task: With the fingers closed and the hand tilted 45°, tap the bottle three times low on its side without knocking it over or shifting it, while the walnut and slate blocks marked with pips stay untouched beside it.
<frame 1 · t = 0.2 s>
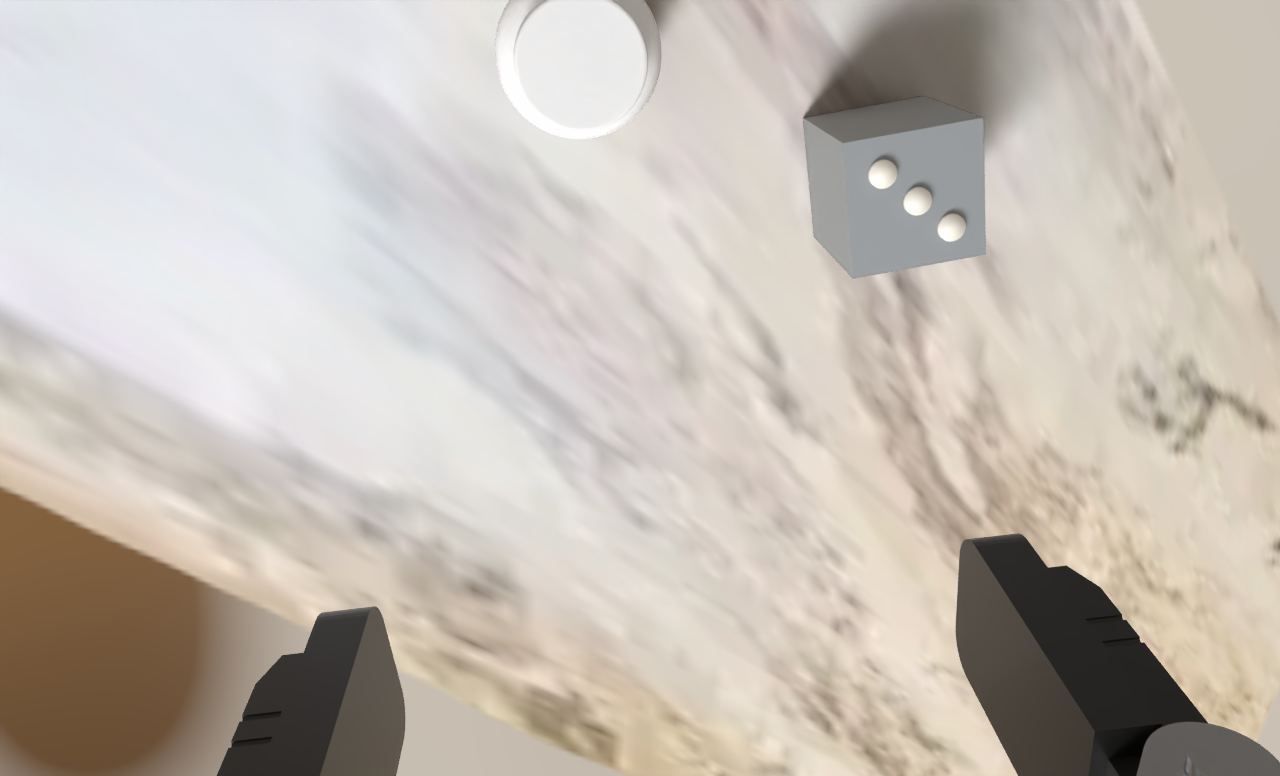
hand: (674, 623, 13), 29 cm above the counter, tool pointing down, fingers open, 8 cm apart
supplement bottle: (574, 38, 38), on the counter
slate three pip block: (867, 167, 40), on the counter
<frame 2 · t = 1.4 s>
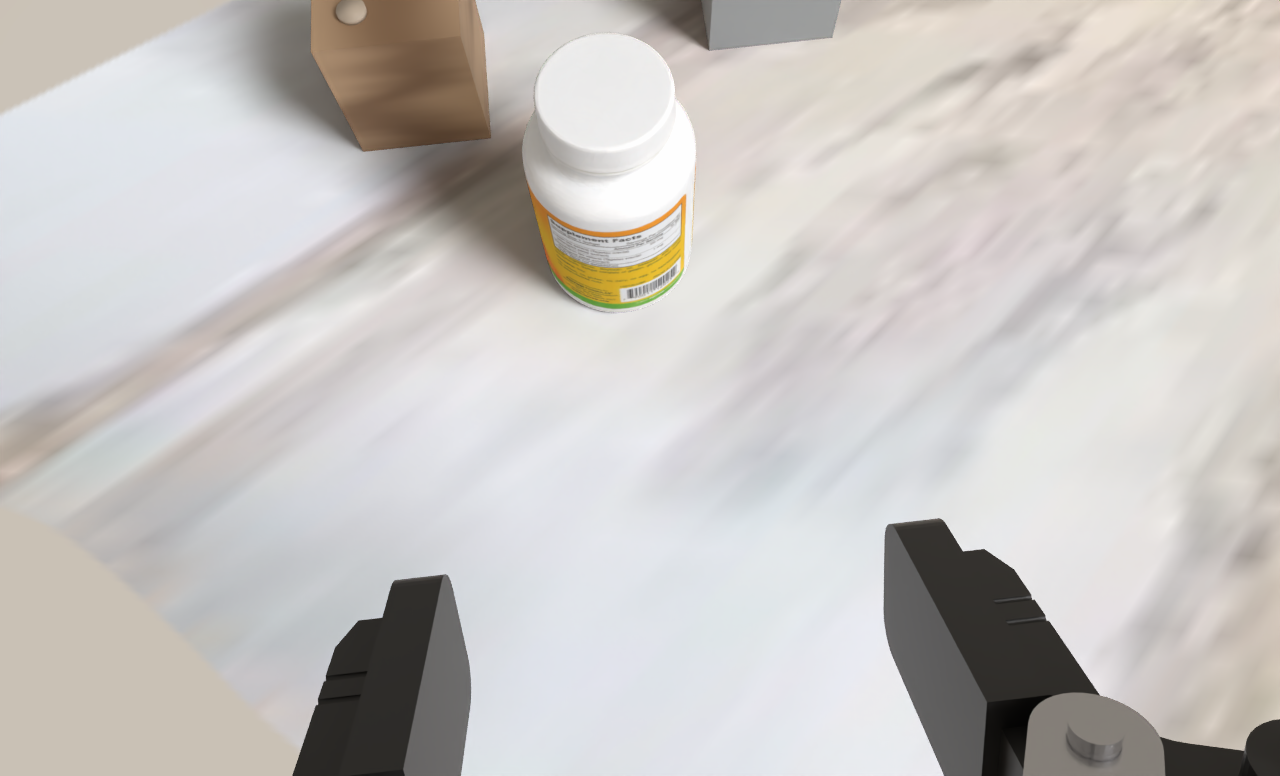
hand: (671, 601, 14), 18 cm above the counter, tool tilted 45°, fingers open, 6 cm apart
supplement bottle: (619, 253, 36), on the counter
walnut two pip block: (425, 92, 39), on the counter
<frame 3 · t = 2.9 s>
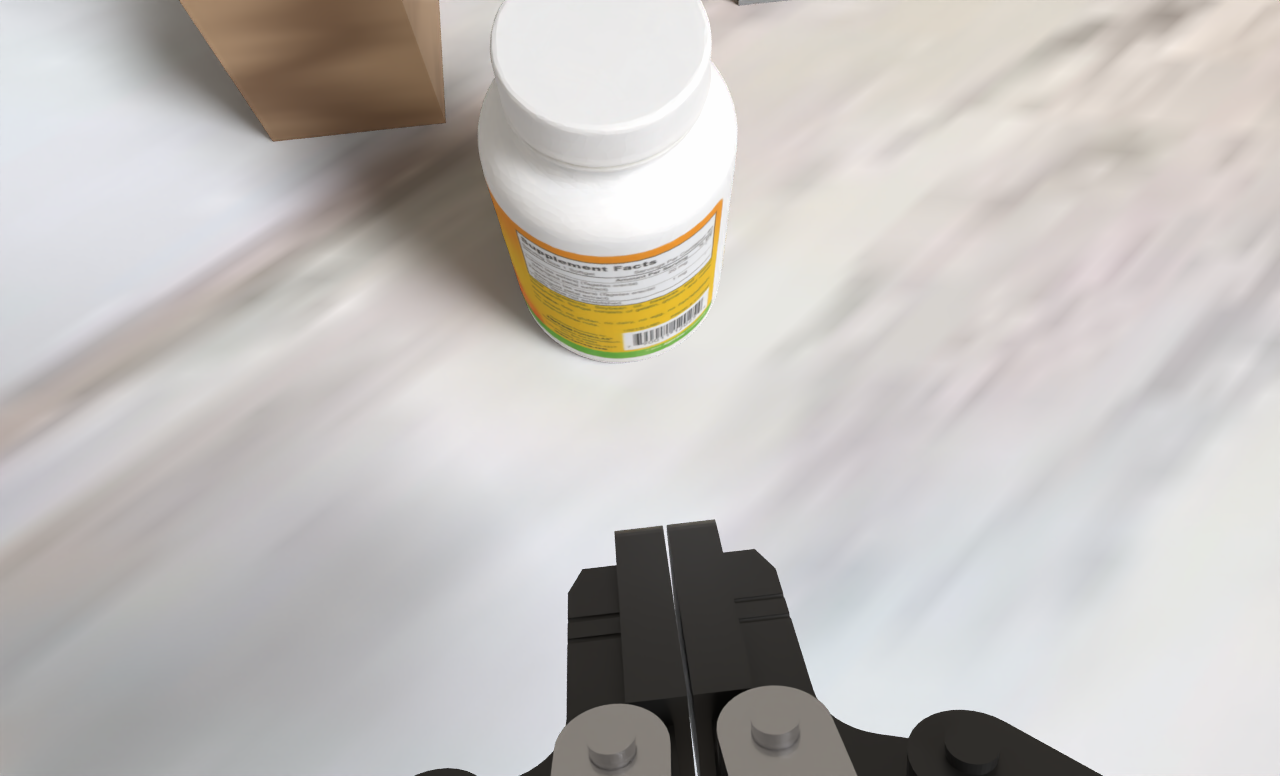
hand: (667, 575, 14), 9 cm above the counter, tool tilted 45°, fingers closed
supplement bottle: (620, 278, 27), on the counter
walnut two pip block: (358, 61, 29), on the counter
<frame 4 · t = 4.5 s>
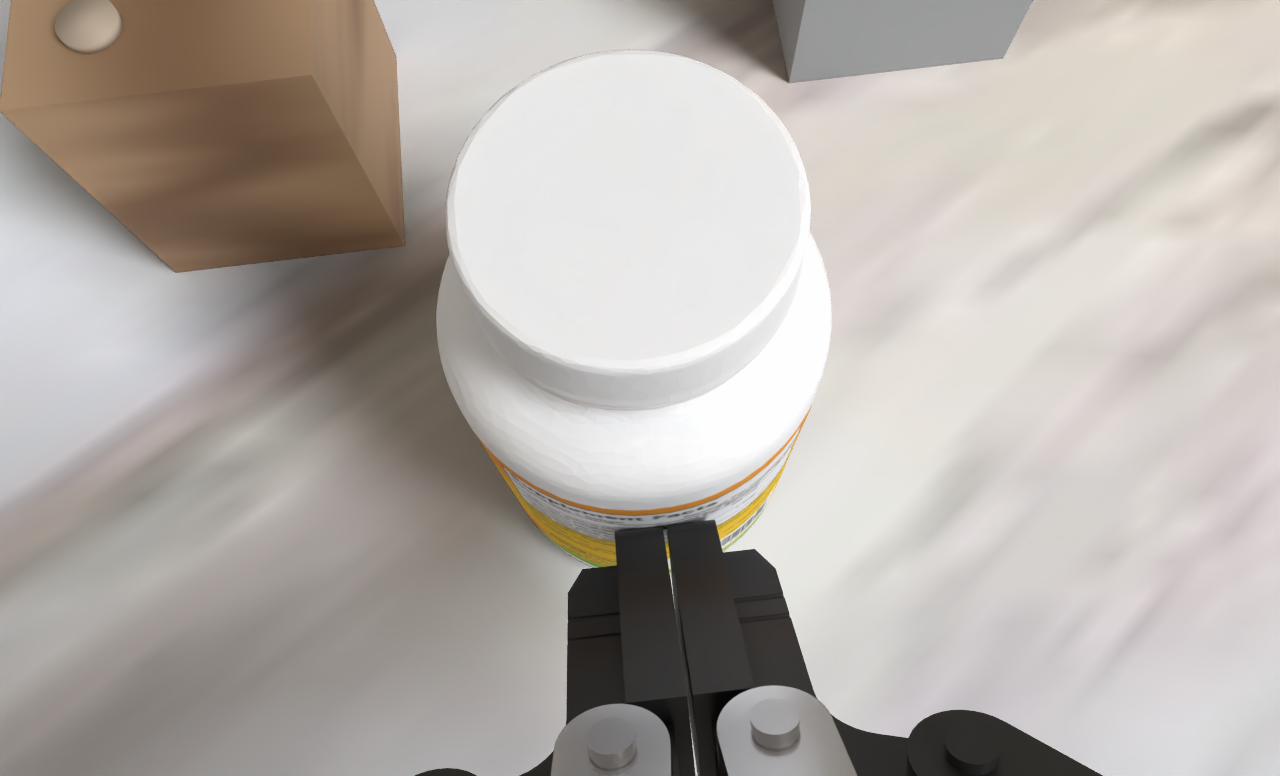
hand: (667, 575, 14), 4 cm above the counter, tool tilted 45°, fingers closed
supplement bottle: (644, 449, 20), on the counter, touching gripper
walnut two pip block: (291, 161, 22), on the counter
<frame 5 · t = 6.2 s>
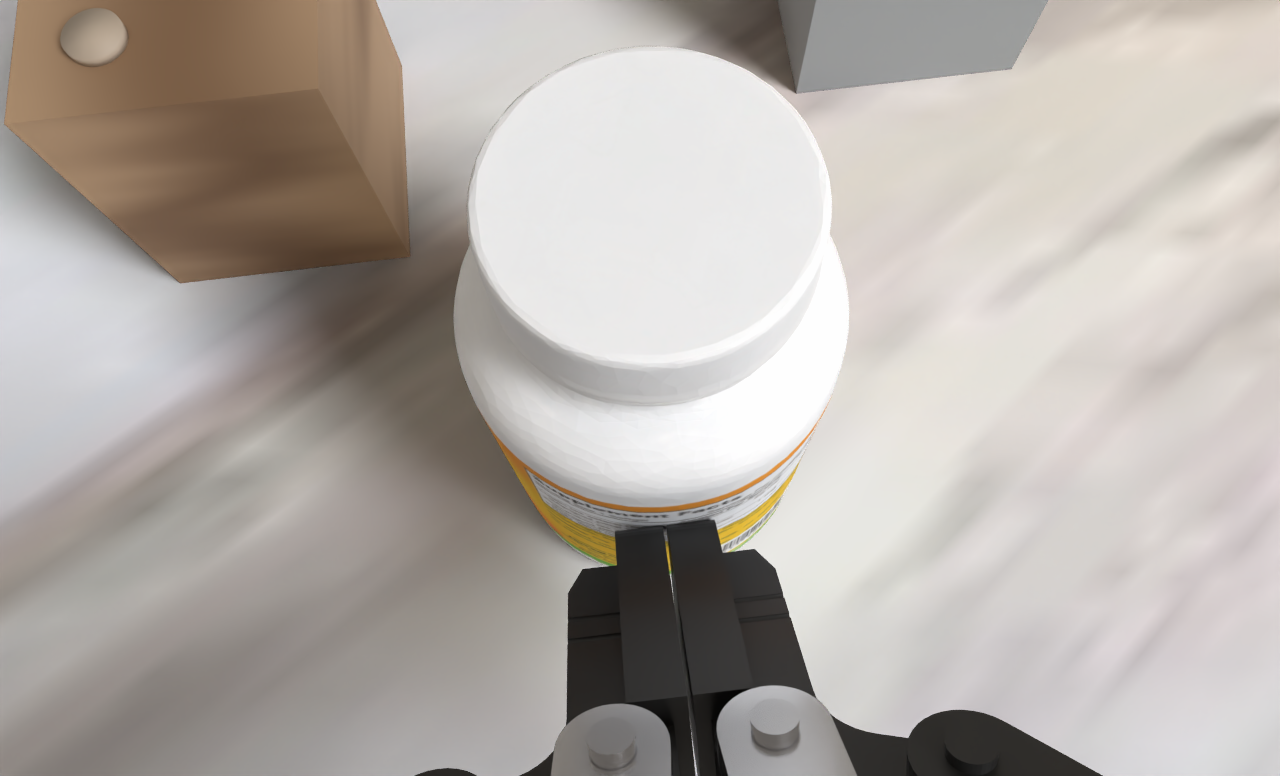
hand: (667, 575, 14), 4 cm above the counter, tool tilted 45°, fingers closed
supplement bottle: (656, 448, 20), on the counter, touching gripper
walnut two pip block: (296, 171, 22), on the counter
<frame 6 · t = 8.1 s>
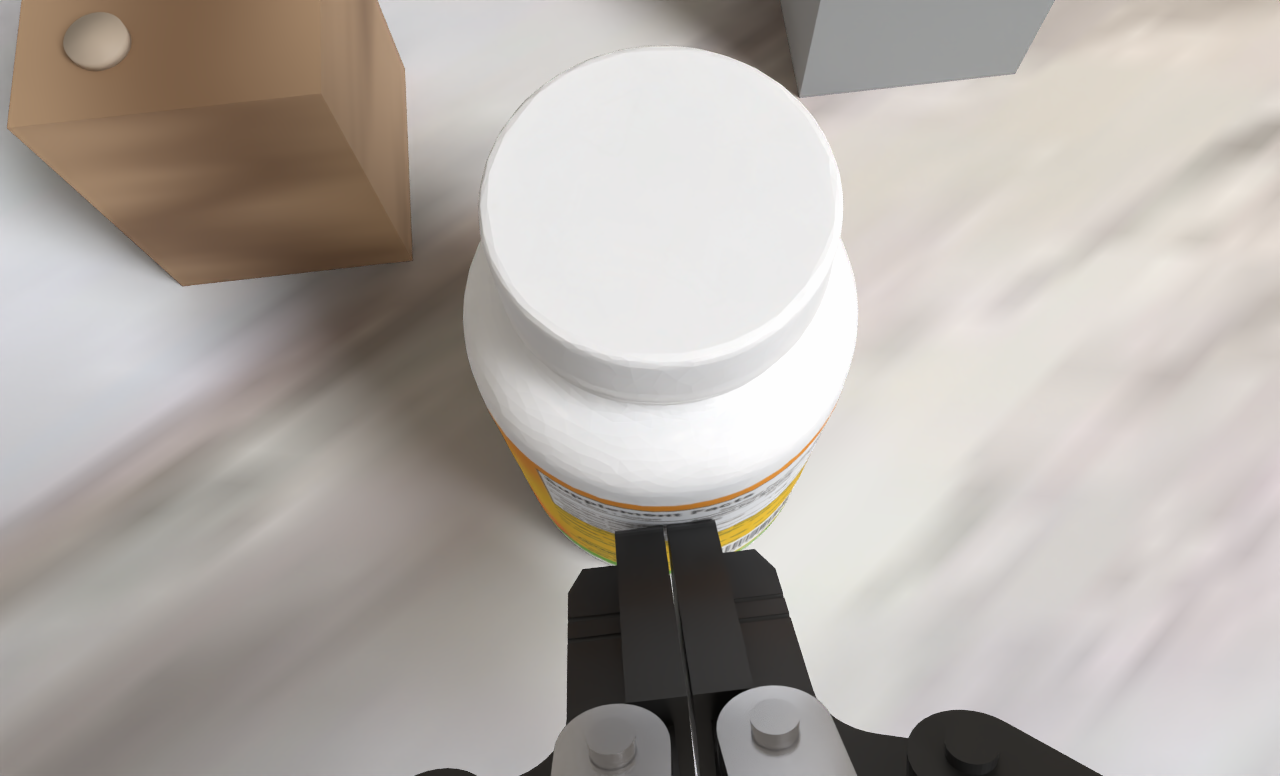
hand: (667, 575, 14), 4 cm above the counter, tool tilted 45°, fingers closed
supplement bottle: (662, 448, 20), on the counter, touching gripper
walnut two pip block: (298, 174, 22), on the counter
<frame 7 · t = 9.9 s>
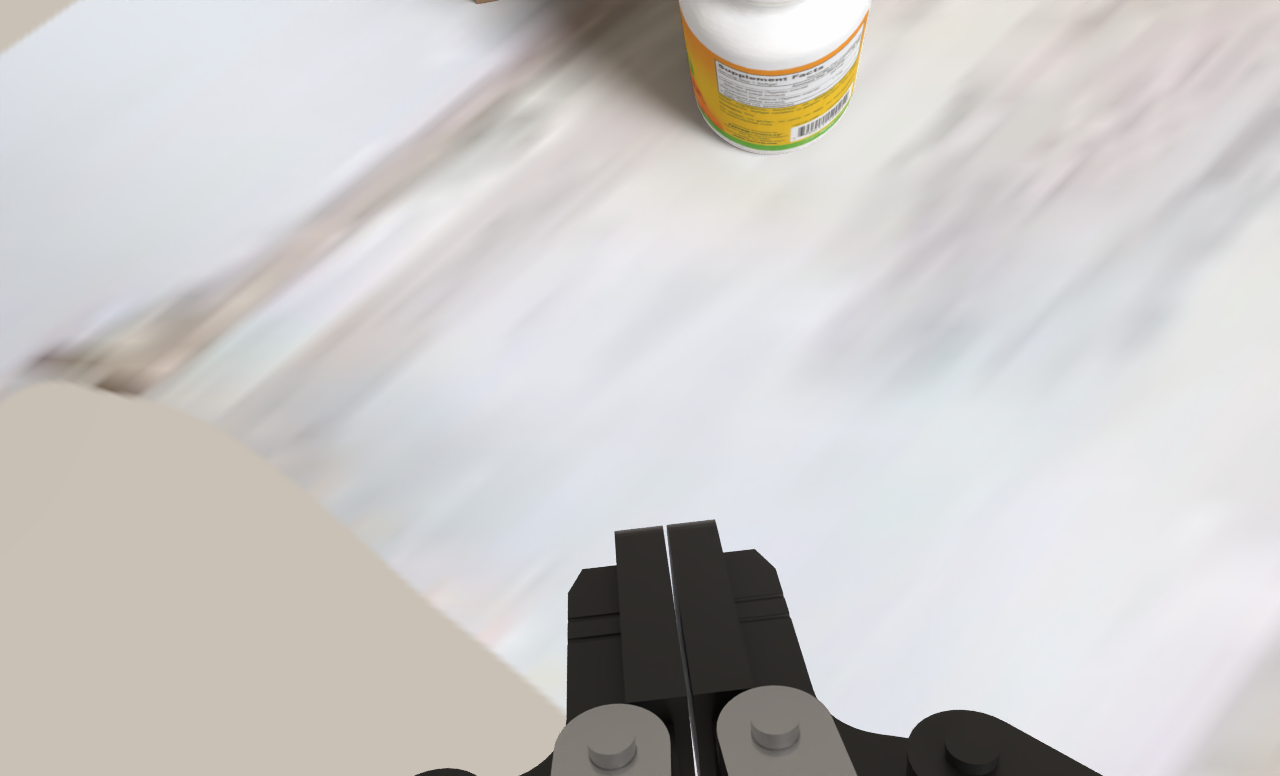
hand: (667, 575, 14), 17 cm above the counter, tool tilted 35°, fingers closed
supplement bottle: (773, 85, 33), on the counter
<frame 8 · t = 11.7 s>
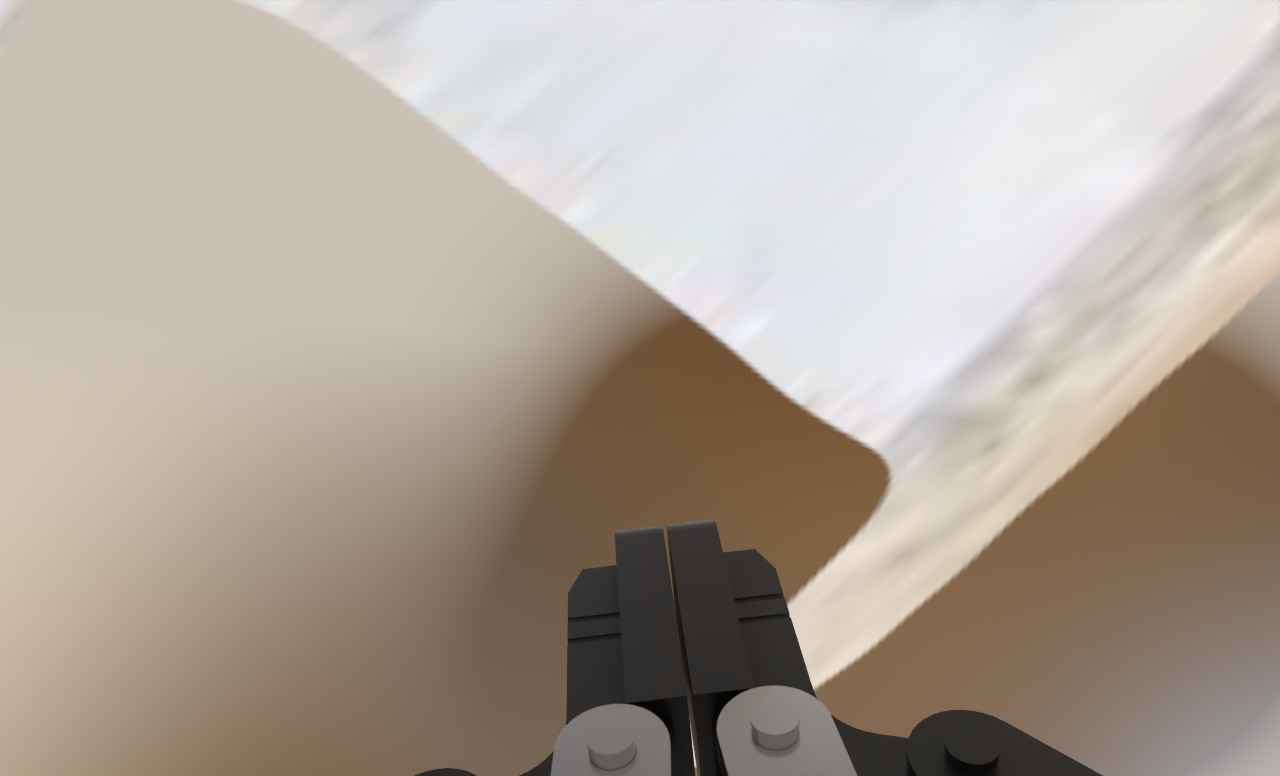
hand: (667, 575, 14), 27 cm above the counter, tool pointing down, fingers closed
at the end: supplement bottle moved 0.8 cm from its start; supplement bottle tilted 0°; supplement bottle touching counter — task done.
